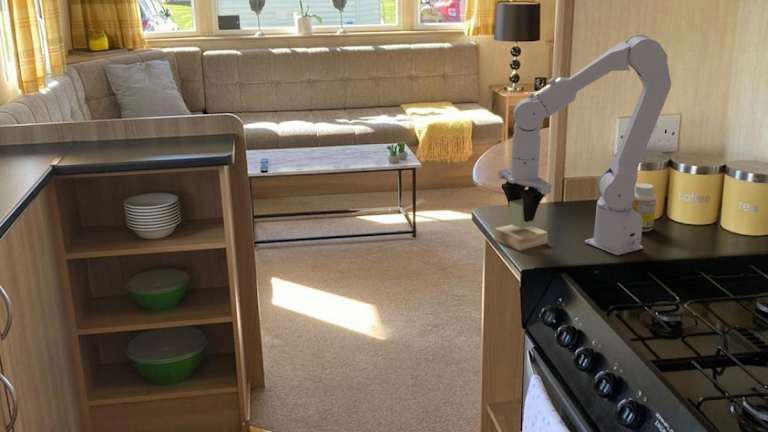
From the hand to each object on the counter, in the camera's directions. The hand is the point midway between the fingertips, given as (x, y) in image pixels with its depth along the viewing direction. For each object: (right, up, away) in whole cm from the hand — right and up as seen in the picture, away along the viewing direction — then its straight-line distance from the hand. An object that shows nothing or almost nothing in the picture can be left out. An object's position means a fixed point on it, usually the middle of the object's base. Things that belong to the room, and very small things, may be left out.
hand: (521, 217), depth 171 cm
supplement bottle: (+29, -3, +10) cm, 31 cm away
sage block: (0, -1, 0) cm, 1 cm away
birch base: (0, -5, +2) cm, 6 cm away
